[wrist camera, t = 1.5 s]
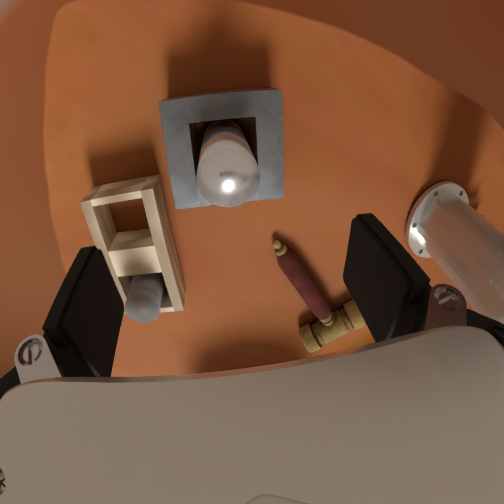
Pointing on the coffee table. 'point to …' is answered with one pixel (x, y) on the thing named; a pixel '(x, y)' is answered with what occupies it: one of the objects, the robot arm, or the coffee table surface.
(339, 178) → the coffee table surface
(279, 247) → the gavel
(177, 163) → the socket
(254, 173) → the silver metal cylinder
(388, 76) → the coffee table surface
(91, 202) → the rack
